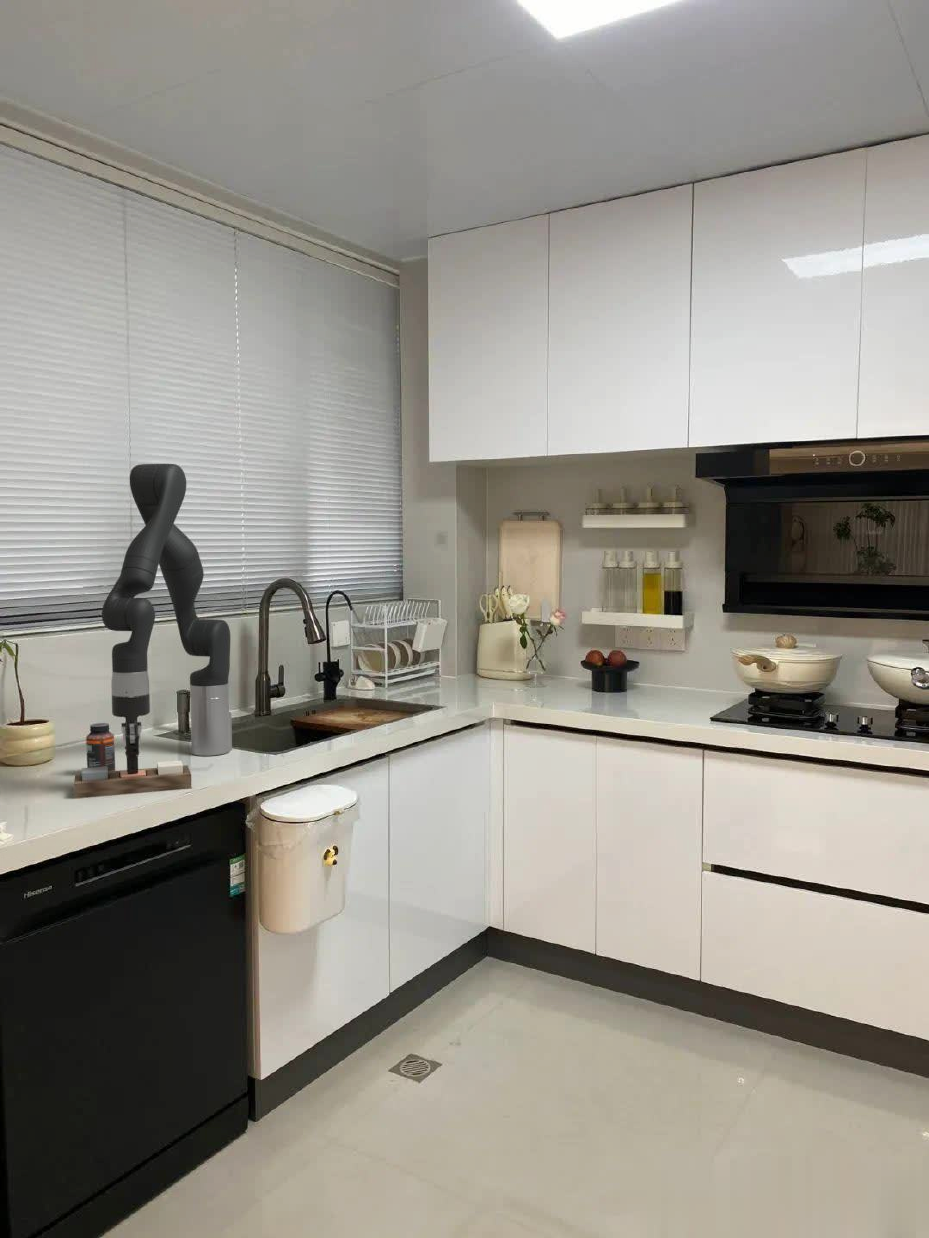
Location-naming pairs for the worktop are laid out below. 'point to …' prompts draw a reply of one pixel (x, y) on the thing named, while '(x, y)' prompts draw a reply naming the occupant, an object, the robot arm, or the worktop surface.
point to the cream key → (169, 767)
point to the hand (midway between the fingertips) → (132, 773)
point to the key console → (131, 783)
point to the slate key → (95, 773)
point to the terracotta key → (125, 775)
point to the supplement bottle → (100, 747)
